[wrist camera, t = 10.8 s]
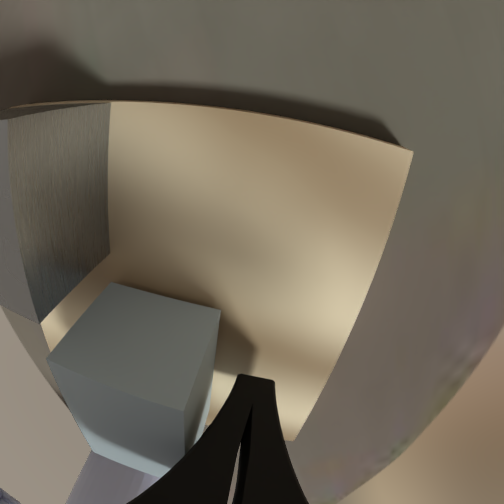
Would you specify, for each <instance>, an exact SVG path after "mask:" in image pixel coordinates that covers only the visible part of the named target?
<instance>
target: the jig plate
mask: <svg viewBox="0 0 504 504" xmlns="http://www.w3.org/2000/svg"><path fill="white" fill-rule="evenodd" d="M71 103H111V111H110V125H109V145H108V221H109V241H110V254H109V255H108V256H107V257H106V258H105V259H104V260H103V261H102V262H101V263H99V264H98V265H97V266H96V267H95V268H94V269H93V270H92V271H91V272H90V273H89V274H88V275H87V276H86V277H85V278H84V279H83V280H82V281H81V282H80V283H79V284H78V285H77V286H76V287H75V288H74V289H73V290H72V291H71V292H70V293H69V294H68V295H67V296H66V297H65V298H64V299H63V300H62V301H61V302H60V303H59V304H58V305H57V306H56V307H55V308H54V309H53V310H52V311H51V312H50V313H49V314H48V316H47V317H46V318H45V319H44V320H43V321H42V322H41V326H42V329H43V332H44V335H45V338H46V340H47V343H48V346H49V349H50V351H51V352H52V350H53V349H54V348H55V347H56V345H57V344H58V343H59V342H60V340H61V339H62V338H63V337H64V336H65V334H66V333H67V332H68V331H69V330H70V328H71V327H72V326H73V325H74V324H75V322H76V321H77V320H78V319H79V318H80V317H81V315H82V314H83V313H84V312H85V311H86V310H87V308H88V307H89V306H90V305H91V304H92V303H93V302H94V300H95V299H96V298H97V297H98V296H99V295H100V294H101V293H102V291H103V290H104V289H105V288H106V287H107V286H108V285H109V284H110V283H111V282H113V283H117V284H120V285H124V286H128V287H131V288H135V289H139V290H142V291H146V292H150V293H154V294H157V295H161V296H165V297H169V298H173V299H177V300H181V301H185V302H189V303H193V304H197V305H202V306H206V307H210V308H214V309H219V310H221V313H220V321H219V329H218V338H217V346H216V355H215V363H214V372H213V381H212V390H211V399H210V408H209V413H208V416H207V419H206V423H205V424H206V425H210V424H211V423H212V421H213V420H214V419H215V417H216V415H217V414H218V412H219V411H220V409H221V408H222V406H223V405H224V403H225V401H226V399H227V398H228V396H229V394H230V392H231V390H232V388H233V385H234V383H235V381H236V378H237V375H238V374H241V373H242V374H246V375H251V376H256V377H261V378H266V379H271V380H274V382H275V391H276V401H277V408H278V414H279V420H280V424H281V429H282V433H283V437H284V440H289V441H294V440H295V438H296V436H297V434H298V433H299V431H300V429H301V428H302V426H303V424H304V422H305V421H306V419H307V417H308V415H309V413H310V412H311V410H312V408H313V406H314V404H315V403H316V401H317V399H318V397H319V395H320V393H321V391H322V389H323V387H324V386H325V384H326V382H327V380H328V378H329V376H330V374H331V372H332V370H333V368H334V366H335V364H336V362H337V360H338V357H339V355H340V353H341V351H342V349H343V347H344V345H345V343H346V340H347V338H348V336H349V334H350V332H351V329H352V327H353V325H354V323H355V320H356V318H357V316H358V314H359V311H360V309H361V306H362V304H363V302H364V299H365V297H366V294H367V292H368V289H369V287H370V284H371V282H372V279H373V277H374V274H375V272H376V269H377V266H378V264H379V261H380V258H381V256H382V253H383V250H384V247H385V244H386V242H387V239H388V236H389V233H390V230H391V227H392V224H393V221H394V218H395V215H396V212H397V208H398V205H399V202H400V199H401V195H402V192H403V189H404V185H405V182H406V178H407V175H408V171H409V167H410V164H411V160H412V156H413V151H411V150H409V149H407V148H404V147H402V146H399V145H396V144H393V143H390V142H386V141H383V140H379V139H376V138H373V137H369V136H365V135H362V134H358V133H354V132H351V131H347V130H343V129H339V128H335V127H330V126H326V125H322V124H317V123H313V122H308V121H303V120H299V119H293V118H288V117H283V116H278V115H272V114H266V113H260V112H254V111H247V110H240V109H233V108H225V107H217V106H208V105H198V104H187V103H175V102H159V101H136V100H82V101H60V102H46V103H34V104H25V105H20V106H14V107H10V108H17V107H27V106H38V105H52V104H71Z"/></svg>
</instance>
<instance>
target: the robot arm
mask: <svg viewBox="0 0 504 504" xmlns="http://www.w3.org/2000/svg"><path fill="white" fill-rule="evenodd" d="M240 443H241V447H240V456H239V465H238V474H237V482H236V489H235V493H234V498H233V502H232V504H309V503H308V501H307V499H306V497H305V495H304V493H303V491H302V489H301V486H300V484H299V482H298V479H297V477H296V474H295V472H294V469H293V466H292V464H291V461H290V458H289V454H288V451H287V448H286V445H285V441H284V437H283V433H282V429H281V424H280V420H279V414H278V408H277V401H276V391H275V382H274V380H271V379H266V378H261V377H256V376H251V375H246V374H242V373H241V374H238V375H237V378H236V381H235V383H234V385H233V388H232V390H231V392H230V394H229V396H228V398H227V399H226V401H225V403H224V405H223V406H222V408H221V409H220V411H219V412H218V414H217V415H216V417H215V419H214V420H213V421H212V423H211V424H210V425H209V427H208V428H207V429H206V431H205V432H204V433H203V435H202V436H201V437H200V438H199V440H198V441H197V442H196V443H195V444H194V446H193V447H192V448H191V449H190V450H189V451H188V452H187V453H186V454H185V455H184V456H183V458H182V459H181V460H180V461H179V462H177V463H176V464H175V465H174V466H173V467H172V468H171V469H170V470H169V471H168V472H167V473H166V474H165V475H164V476H162V477H161V478H159V477H156V476H153V475H150V474H147V473H144V472H142V471H139V470H136V469H133V468H131V467H128V466H126V465H123V464H120V463H118V462H116V461H113V460H111V459H108V458H106V457H104V456H101V455H99V454H97V453H95V452H93V451H92V450H91V452H90V454H89V456H88V458H87V461H86V462H85V465H84V466H83V468H82V470H81V472H80V475H79V476H78V479H77V481H76V483H75V485H74V487H73V489H72V491H71V493H70V495H69V498H68V500H67V502H66V504H227V501H228V496H229V491H230V486H231V481H232V476H233V471H234V467H235V462H236V457H237V452H238V449H239V446H240ZM0 504H20V502H19V501H17V500H16V499H14V498H13V497H12V496H10V495H9V494H8V493H6V492H5V491H4V490H2V489H1V488H0Z"/></svg>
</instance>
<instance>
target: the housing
mask: <svg viewBox="0 0 504 504" xmlns="http://www.w3.org/2000/svg"><path fill="white" fill-rule="evenodd" d="M220 313H221V310H219V309H214V308H210V307H206V306H202V305H197V304H193V303H189V302H185V301H181V300H177V299H173V298H169V297H165V296H161V295H157V294H154V293H150V292H146V291H142V290H139V289H135V288H131V287H128V286H124V285H120V284H117V283H113V282H111V283H110V284H109V285H108V286H107V287H106V288H105V289H104V290H103V291H102V293H101V294H100V295H99V296H98V297H97V298H96V299H95V300H94V302H93V303H92V304H91V305H90V306H89V307H88V308H87V310H86V311H85V312H84V313H83V314H82V315H81V317H80V318H79V319H78V320H77V321H76V322H75V324H74V325H73V326H72V327H71V328H70V330H69V331H68V332H67V333H66V334H65V336H64V337H63V338H62V339H61V340H60V342H59V343H58V344H57V345H56V347H55V348H54V349H53V350H52V352H51V353H50V354H49V355H48V357H47V358H46V360H47V362H48V364H49V367H50V369H51V371H52V374H53V376H54V378H55V381H56V383H57V385H58V387H59V389H60V391H61V393H62V396H63V398H64V400H65V402H66V404H67V406H68V408H69V410H70V412H71V413H72V415H73V417H74V419H75V421H76V423H77V425H78V427H79V428H80V430H81V432H82V434H83V435H84V437H85V439H86V440H87V442H88V444H89V445H90V447H91V449H92V451H93V452H95V453H97V454H99V455H101V456H104V457H106V458H108V459H111V460H113V461H116V462H118V463H120V464H123V465H126V466H128V467H131V468H133V469H136V470H139V471H142V472H144V473H147V474H150V475H153V476H156V477H159V478H161V477H162V476H164V475H165V474H166V473H167V472H168V471H169V470H170V469H171V468H172V467H173V466H174V465H175V464H176V463H177V462H179V461H180V460H181V459H182V458H183V456H184V455H185V454H186V453H187V452H188V451H189V450H190V449H191V448H192V447H193V446H194V444H195V443H196V442H197V441H198V440H199V438H200V437H201V436H202V433H203V429H204V426H205V423H206V419H207V416H208V413H209V408H210V399H211V390H212V381H213V372H214V363H215V355H216V346H217V338H218V329H219V321H220Z"/></svg>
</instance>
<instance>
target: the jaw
mask: <svg viewBox="0 0 504 504" xmlns="http://www.w3.org/2000/svg"><path fill="white" fill-rule="evenodd" d="M110 111H111V103H71V104H52V105H38V106H27V107H17V108H9V109H4V110H0V305H2V306H3V307H5V308H7V309H9V310H11V311H13V312H15V313H17V314H19V315H21V316H23V317H25V318H27V319H29V320H32V321H34V322H36V323H38V324H40V323H41V322H42V321H43V320H44V319H45V318H46V317H47V316H48V314H49V313H50V312H51V311H52V310H53V309H54V308H55V307H56V306H57V305H58V304H59V303H60V302H61V301H62V300H63V299H64V298H65V297H66V296H67V295H68V294H69V293H70V292H71V291H72V290H73V289H74V288H75V287H76V286H77V285H78V284H79V283H80V282H81V281H82V280H83V279H84V278H85V277H86V276H87V275H88V274H89V273H90V272H91V271H92V270H93V269H94V268H95V267H96V266H97V265H98V264H99V263H101V262H102V261H103V260H104V259H105V258H106V257H107V256H108V255H109V254H110V241H109V221H108V145H109V125H110Z"/></svg>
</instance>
